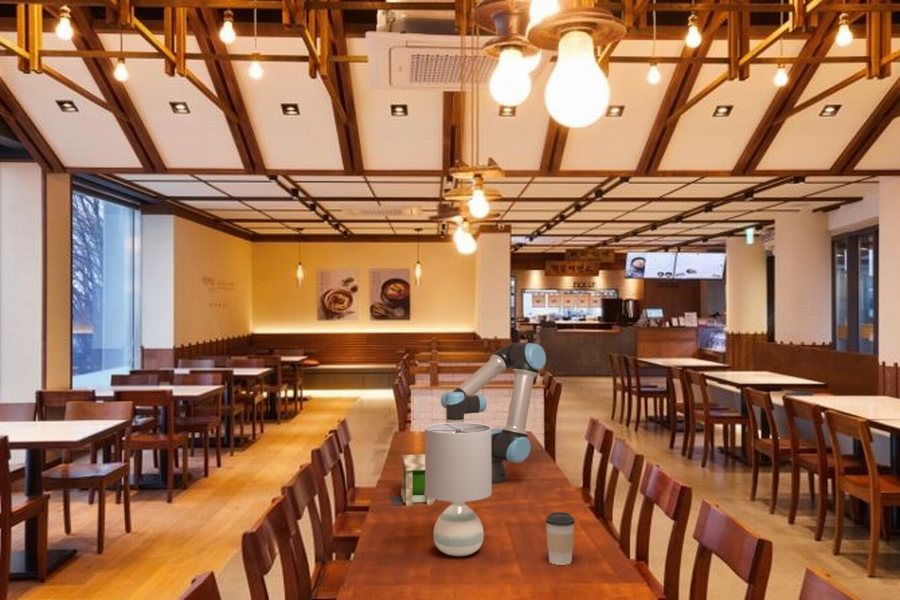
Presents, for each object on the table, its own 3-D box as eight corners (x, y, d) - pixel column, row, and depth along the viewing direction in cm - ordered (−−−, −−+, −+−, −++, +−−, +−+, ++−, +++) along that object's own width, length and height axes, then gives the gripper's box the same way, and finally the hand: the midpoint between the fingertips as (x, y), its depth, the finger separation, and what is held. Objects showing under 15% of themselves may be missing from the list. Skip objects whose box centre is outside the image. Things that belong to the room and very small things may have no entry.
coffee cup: (543, 557, 231) (542, 510, 232) (571, 556, 232) (570, 509, 232) (549, 567, 222) (549, 518, 223) (578, 566, 223) (578, 517, 223)
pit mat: (399, 496, 308) (399, 495, 308) (402, 505, 294) (402, 504, 294) (390, 496, 308) (390, 496, 308) (392, 505, 294) (392, 505, 294)
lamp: (440, 567, 223) (440, 435, 223) (415, 546, 243) (415, 425, 243) (503, 557, 231) (503, 430, 232) (474, 538, 251) (473, 421, 252)
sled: (472, 491, 314) (472, 473, 314) (478, 499, 301) (478, 480, 301) (401, 494, 310) (400, 475, 310) (403, 502, 297) (403, 483, 297)
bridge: (427, 491, 317) (427, 454, 317) (433, 505, 293) (433, 465, 293) (402, 492, 315) (402, 455, 316) (406, 506, 292) (406, 466, 292)
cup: (425, 502, 299) (425, 475, 299) (404, 501, 301) (404, 474, 301) (430, 496, 308) (430, 470, 308) (409, 495, 310) (409, 469, 310)
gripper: (468, 427, 312) (468, 483, 311) (438, 427, 310) (438, 483, 309) (471, 430, 304) (471, 487, 304) (440, 430, 302) (440, 487, 302)
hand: (454, 485), depth 306 cm, fingers closed
